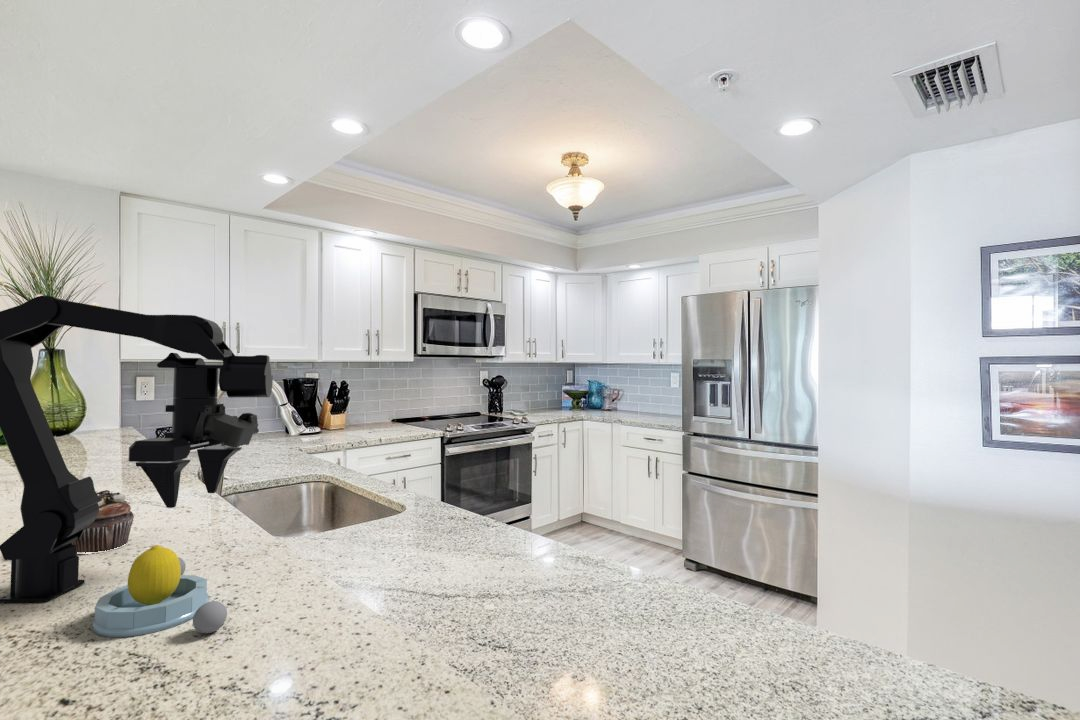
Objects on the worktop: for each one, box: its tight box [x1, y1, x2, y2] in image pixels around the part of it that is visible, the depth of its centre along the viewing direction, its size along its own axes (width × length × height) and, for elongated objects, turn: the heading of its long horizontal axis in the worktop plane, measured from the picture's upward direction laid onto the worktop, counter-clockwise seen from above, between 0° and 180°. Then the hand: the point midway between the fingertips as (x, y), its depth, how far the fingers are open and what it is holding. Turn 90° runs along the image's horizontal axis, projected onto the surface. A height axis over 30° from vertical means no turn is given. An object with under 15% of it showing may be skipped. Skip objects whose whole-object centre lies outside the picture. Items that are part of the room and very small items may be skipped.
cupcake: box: [71, 489, 135, 553], centre depth 92 cm, size 10×10×10 cm
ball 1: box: [177, 556, 187, 575], centre depth 77 cm, size 4×4×4 cm
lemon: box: [127, 544, 181, 606], centre depth 67 cm, size 6×6×8 cm
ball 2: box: [192, 600, 228, 634], centre depth 62 cm, size 4×4×4 cm
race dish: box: [92, 574, 210, 638], centre depth 67 cm, size 12×12×3 cm
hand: (192, 499), depth 79 cm, fingers open, 9 cm apart
